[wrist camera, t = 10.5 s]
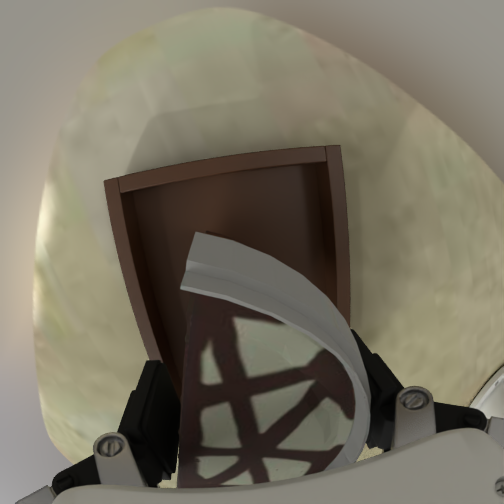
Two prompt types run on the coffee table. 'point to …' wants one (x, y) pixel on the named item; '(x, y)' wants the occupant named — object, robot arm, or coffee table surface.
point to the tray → (227, 230)
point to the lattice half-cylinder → (264, 372)
